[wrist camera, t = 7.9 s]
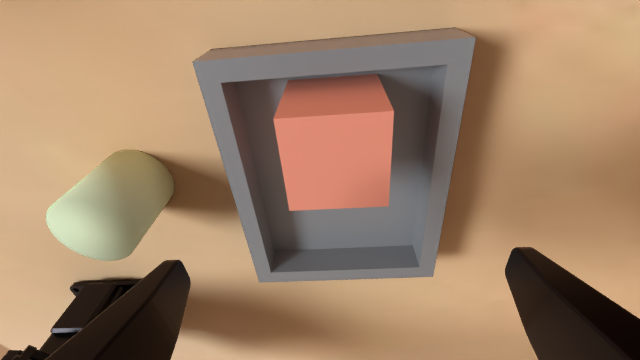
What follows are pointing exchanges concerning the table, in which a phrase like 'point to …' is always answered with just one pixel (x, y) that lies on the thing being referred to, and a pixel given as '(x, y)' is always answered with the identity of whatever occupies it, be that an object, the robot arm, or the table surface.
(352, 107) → the red cube
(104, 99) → the table surface
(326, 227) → the serving tray
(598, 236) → the table surface
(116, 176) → the green cylinder
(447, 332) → the table surface
